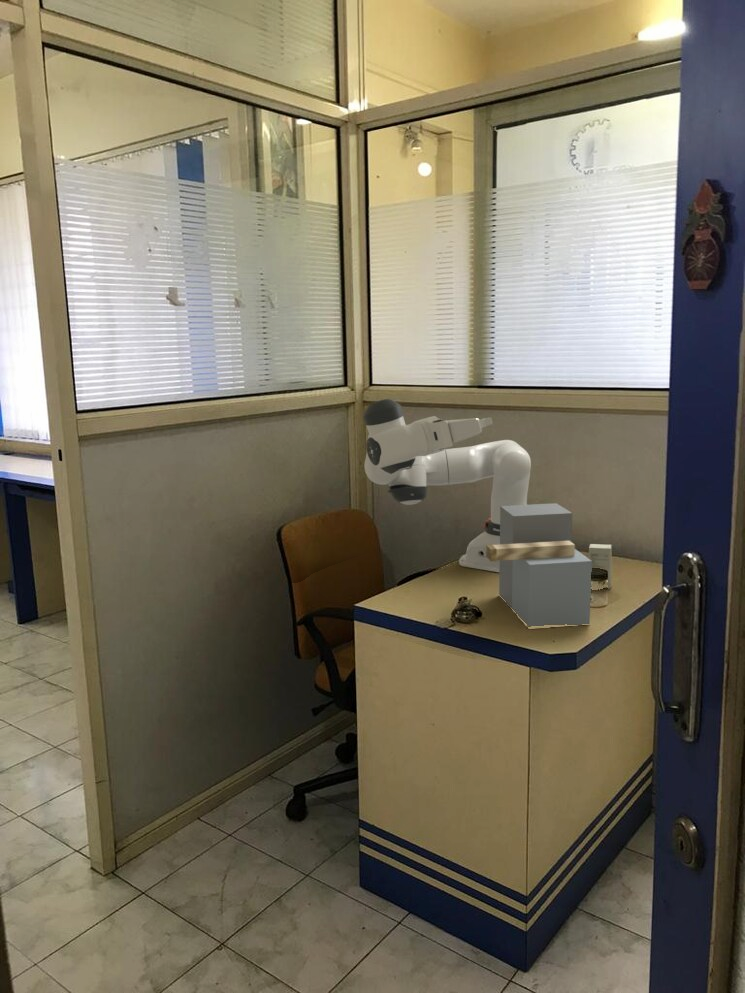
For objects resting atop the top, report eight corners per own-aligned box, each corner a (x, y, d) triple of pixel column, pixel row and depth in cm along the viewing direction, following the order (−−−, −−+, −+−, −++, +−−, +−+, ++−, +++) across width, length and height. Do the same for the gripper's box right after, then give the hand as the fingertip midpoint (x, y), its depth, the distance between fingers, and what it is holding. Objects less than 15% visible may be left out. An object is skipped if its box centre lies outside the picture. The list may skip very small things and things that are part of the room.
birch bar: (490, 561, 206) (490, 549, 206) (486, 556, 210) (486, 545, 210) (574, 556, 209) (574, 544, 208) (568, 551, 213) (569, 540, 212)
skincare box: (611, 585, 239) (613, 544, 236) (610, 589, 235) (612, 548, 232) (588, 583, 241) (589, 542, 238) (587, 587, 237) (588, 546, 234)
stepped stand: (528, 629, 206) (530, 529, 201) (499, 595, 231) (500, 506, 226) (589, 625, 208) (593, 526, 203) (553, 592, 233) (556, 503, 228)
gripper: (422, 447, 211) (471, 433, 214) (449, 448, 191) (502, 433, 194) (416, 423, 210) (466, 409, 213) (442, 421, 190) (496, 406, 193)
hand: (483, 420), depth 203 cm, fingers open, 8 cm apart
